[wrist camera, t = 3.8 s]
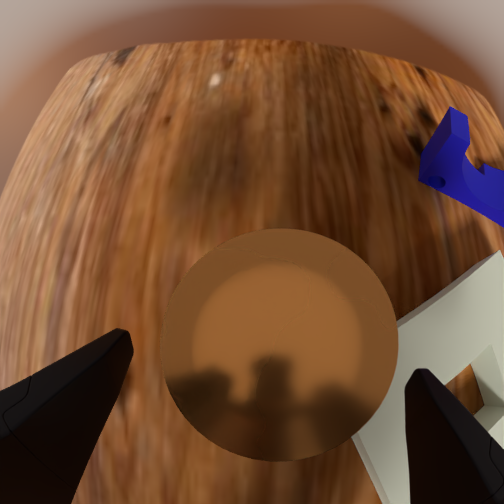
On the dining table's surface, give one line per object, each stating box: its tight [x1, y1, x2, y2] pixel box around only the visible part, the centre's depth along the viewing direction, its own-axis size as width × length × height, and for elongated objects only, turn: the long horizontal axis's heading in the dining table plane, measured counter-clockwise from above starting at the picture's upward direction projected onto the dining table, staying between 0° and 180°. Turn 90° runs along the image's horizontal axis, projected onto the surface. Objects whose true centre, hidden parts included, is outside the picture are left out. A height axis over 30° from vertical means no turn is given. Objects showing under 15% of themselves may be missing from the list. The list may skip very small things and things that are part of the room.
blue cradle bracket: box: [418, 107, 504, 227], centre depth 17 cm, size 12×4×6 cm, turn 67°
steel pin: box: [160, 228, 399, 461], centre depth 10 cm, size 4×4×13 cm
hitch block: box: [351, 250, 504, 504], centre depth 13 cm, size 14×14×3 cm
